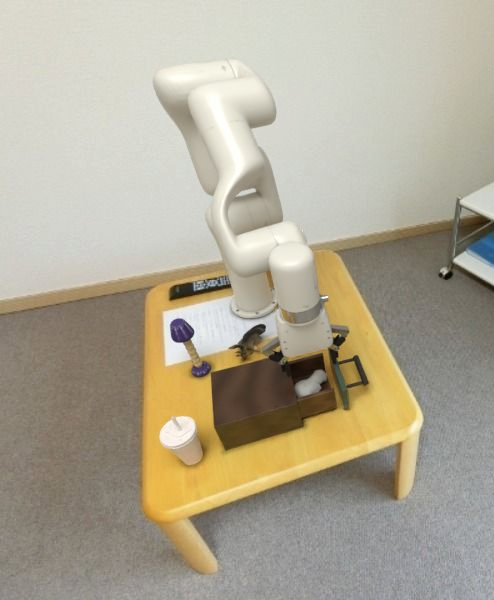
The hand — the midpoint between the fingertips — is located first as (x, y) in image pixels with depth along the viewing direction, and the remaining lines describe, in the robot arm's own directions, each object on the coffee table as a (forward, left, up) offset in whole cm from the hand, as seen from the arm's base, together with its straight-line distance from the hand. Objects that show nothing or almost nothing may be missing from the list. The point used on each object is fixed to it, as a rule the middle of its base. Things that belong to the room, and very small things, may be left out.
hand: (311, 365), depth 89 cm
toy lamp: (-16, -24, -11) cm, 31 cm away
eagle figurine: (-19, -12, -11) cm, 25 cm away
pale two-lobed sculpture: (0, -1, -9) cm, 9 cm away
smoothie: (+6, -26, -11) cm, 29 cm away
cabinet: (0, -12, -11) cm, 16 cm away
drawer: (0, +1, -10) cm, 10 cm away
